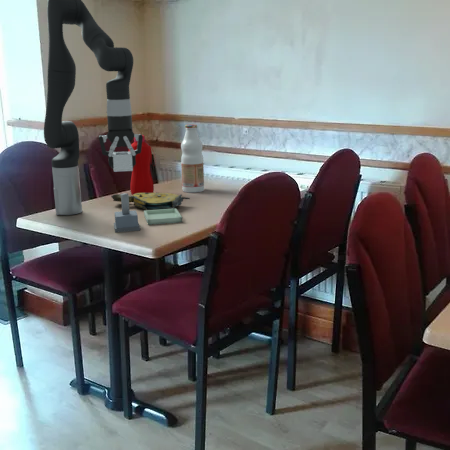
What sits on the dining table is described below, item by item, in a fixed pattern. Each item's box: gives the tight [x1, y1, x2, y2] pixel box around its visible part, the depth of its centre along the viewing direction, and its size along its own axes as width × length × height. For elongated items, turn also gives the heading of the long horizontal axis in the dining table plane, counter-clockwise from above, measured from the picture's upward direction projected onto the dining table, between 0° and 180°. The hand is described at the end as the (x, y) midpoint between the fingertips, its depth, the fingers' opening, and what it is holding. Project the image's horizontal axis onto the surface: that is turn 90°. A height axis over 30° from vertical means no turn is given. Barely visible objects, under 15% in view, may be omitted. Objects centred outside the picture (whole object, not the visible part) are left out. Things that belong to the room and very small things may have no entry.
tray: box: [143, 207, 183, 226], centre depth 199 cm, size 12×14×2 cm
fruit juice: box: [180, 124, 205, 194], centre depth 243 cm, size 9×9×28 cm
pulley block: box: [111, 192, 190, 211], centre depth 217 cm, size 14×6×30 cm
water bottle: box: [127, 134, 157, 196], centre depth 237 cm, size 9×11×25 cm
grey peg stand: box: [113, 192, 141, 233], centre depth 187 cm, size 8×8×12 cm
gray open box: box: [112, 151, 133, 173], centre depth 183 cm, size 6×8×5 cm
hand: (122, 167), depth 183 cm, fingers closed on gray open box, 5 cm apart
